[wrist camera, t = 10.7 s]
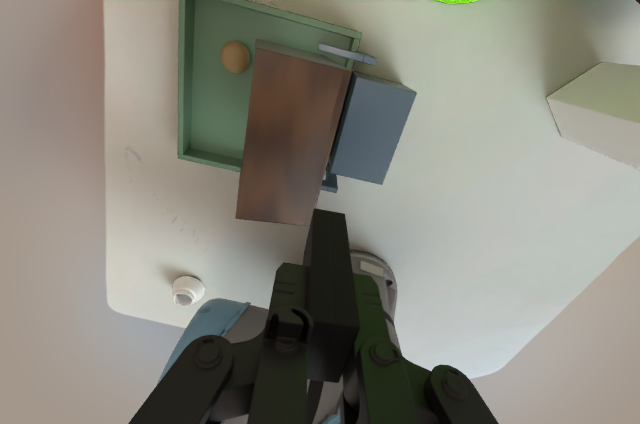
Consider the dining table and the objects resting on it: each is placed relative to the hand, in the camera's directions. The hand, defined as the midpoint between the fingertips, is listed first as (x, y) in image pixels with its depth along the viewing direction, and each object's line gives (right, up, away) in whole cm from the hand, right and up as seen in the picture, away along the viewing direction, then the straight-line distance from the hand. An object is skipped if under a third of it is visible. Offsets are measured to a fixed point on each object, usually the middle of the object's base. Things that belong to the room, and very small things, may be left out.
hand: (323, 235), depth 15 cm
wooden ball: (-9, +17, +16) cm, 25 cm away
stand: (+3, +12, +21) cm, 25 cm away
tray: (-7, +14, +20) cm, 26 cm away
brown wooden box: (0, +8, +12) cm, 14 cm away
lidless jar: (-21, -11, +35) cm, 43 cm away
